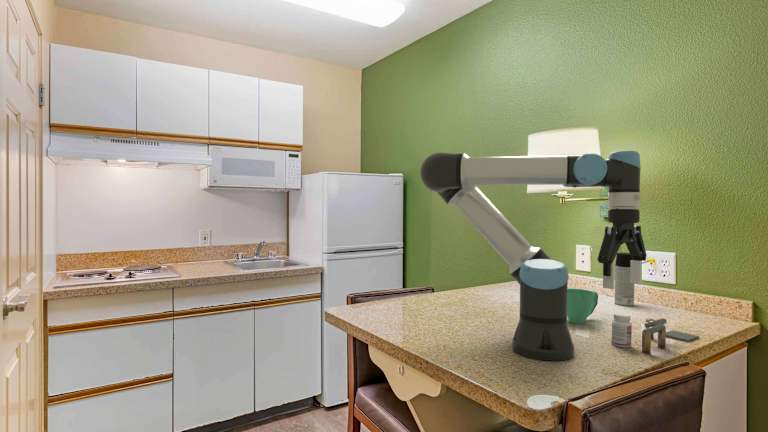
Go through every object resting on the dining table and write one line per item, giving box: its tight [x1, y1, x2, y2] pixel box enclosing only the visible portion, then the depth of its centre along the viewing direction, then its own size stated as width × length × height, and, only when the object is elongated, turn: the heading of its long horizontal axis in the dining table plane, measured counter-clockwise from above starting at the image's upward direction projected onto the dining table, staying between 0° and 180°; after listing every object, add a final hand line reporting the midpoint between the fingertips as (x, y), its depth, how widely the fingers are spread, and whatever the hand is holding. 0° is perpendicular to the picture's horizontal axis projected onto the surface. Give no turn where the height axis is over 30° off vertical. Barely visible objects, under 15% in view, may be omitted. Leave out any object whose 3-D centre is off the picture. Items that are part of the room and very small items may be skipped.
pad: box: [666, 329, 700, 343], centre depth 126 cm, size 7×7×1 cm
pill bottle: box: [611, 312, 633, 348], centre depth 119 cm, size 5×5×8 cm
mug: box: [567, 288, 599, 324], centre depth 144 cm, size 15×10×10 cm
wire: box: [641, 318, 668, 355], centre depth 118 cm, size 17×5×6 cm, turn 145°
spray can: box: [614, 252, 635, 307], centre depth 169 cm, size 7×7×20 cm
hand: (622, 286), depth 118 cm, fingers open, 13 cm apart
